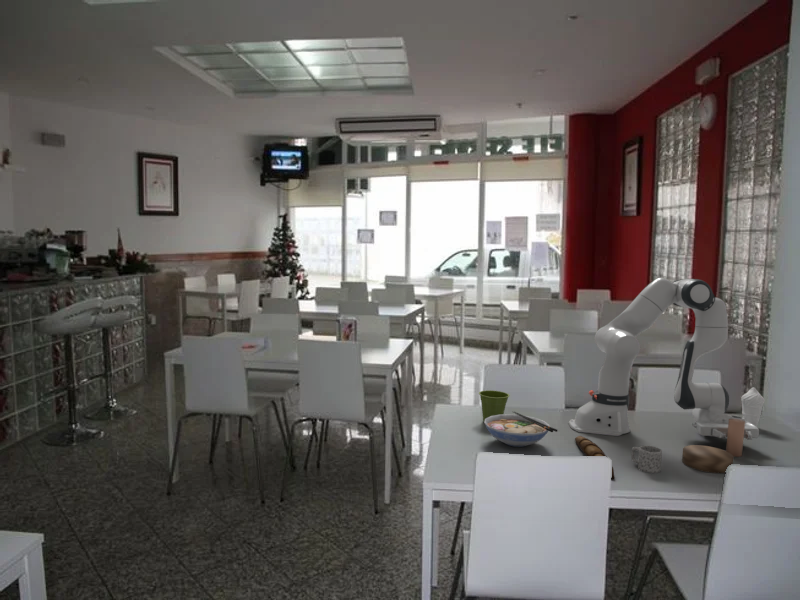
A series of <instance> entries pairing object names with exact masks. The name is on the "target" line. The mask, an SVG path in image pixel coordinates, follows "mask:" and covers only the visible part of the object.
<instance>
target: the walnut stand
mask: <svg viewBox="0 0 800 600" xmlns="http://www.w3.org/2000/svg"><path fill="white" fill-rule="evenodd" d="M681 457H682V458H681V461H682V463H683V464H684V465H686V466H687V467H689V468H691V469H694V470H697V471H699V472H704V473H705V472H706V473H712V474H725V471H726V469H727V467H728V466H729V465H731V464H733V465H734V458H735V457H734V456H733V455H732V454H731V453H729V452H727V451H726V449H725V450H724V449H723V448H722V449H721V448H719V447H713V446H708V445H703V444H702V445H700V444H699V445H698V444H690V445H685V446H684V447H682V456H681Z"/></svg>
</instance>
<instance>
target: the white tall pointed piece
mask: <svg viewBox="0 0 800 600" xmlns="http://www.w3.org/2000/svg"><path fill="white" fill-rule="evenodd" d="M740 401H741V407H742V411H741V413H742V418H745V421H747V422H750V423H752V424H753V425H755V426H756V427H758V424H759V420H760V417H761V415H762V410H763V406H764V404H765V402H766V400H765V398H764V397H763V396H762V394H761V393H760V392H759V391H758V390H757V388H756V387H751V388H750V389H749V390H748V391H747V392H746V393H744V394H743V395H741V398H740Z"/></svg>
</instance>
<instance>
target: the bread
mask: <svg viewBox="0 0 800 600" xmlns="http://www.w3.org/2000/svg"><path fill="white" fill-rule="evenodd" d="M574 441H575V443H576V445H577V446H578V448H579V449H580V450H581V451H582V453H584V455H585V456H586V457H587V456H606V457H607V455H606V454H605V452H604V451H603V449H602V448H601V447H600V446H599V445H598V444H597V443H595V442H593V441H592V440H590V439H588V438H586V437H584V436H582V435H578V436H575V438H574ZM614 471H615V470H614V467H613V466H612V479H611V480H615V473H614Z"/></svg>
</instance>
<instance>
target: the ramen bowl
mask: <svg viewBox="0 0 800 600" xmlns="http://www.w3.org/2000/svg"><path fill="white" fill-rule="evenodd" d="M512 413H513V414H511V413H508V414H506V413H504V414H502V415H494V416H490V417H488V418H486V419H485V421H483V423H484V425H485V428H486V429H487V431H488V432H489V434H490V435H491V436H492V437H493V438H494V439H496V440H497V441H498V442H501V443H504V444H506V445H507V446H509V447H513V448H522V447H526V446H530V445H533V444H535V443H538V442H540V441H541V440H543V439H544V437H546V435H547V434H548V433H549V432H550V433H553V432H556V433H557V432H558V429H557V428H553V427H552V426H551V425H550V424H549V423H548V422H546V421H545V420H542V419H540V418H538V417H533V416H528V415H523V414H521V413H518V412H516V411H512Z"/></svg>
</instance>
